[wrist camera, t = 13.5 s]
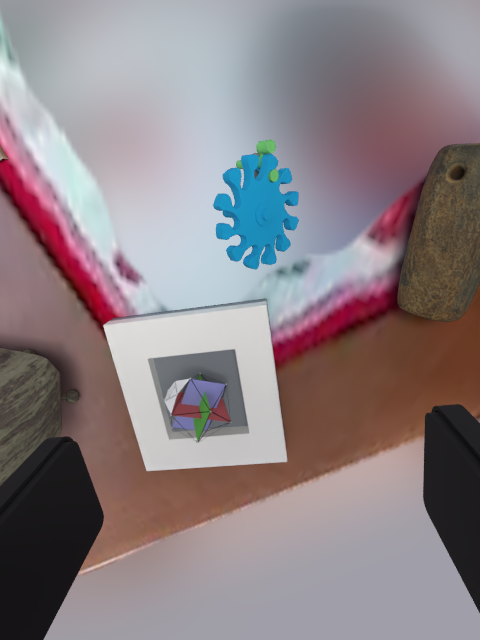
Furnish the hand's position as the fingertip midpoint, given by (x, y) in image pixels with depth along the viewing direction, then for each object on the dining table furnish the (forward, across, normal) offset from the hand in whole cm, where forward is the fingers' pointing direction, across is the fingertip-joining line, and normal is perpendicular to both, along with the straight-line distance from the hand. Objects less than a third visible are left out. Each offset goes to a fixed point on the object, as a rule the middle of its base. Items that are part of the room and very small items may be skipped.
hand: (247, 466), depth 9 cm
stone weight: (+29, -17, -1) cm, 34 cm away
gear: (+29, -1, -6) cm, 29 cm away
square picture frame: (+28, +9, +13) cm, 32 cm away
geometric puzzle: (+28, +9, +13) cm, 32 cm away
